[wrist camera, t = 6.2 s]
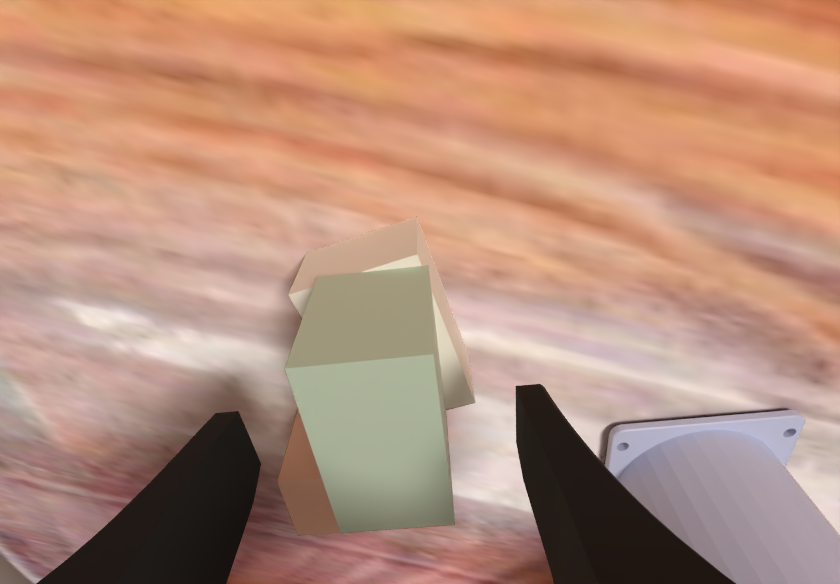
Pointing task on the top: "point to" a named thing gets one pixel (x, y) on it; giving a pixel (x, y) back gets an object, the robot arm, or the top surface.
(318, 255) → the cream brick
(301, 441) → the terracotta brick
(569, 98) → the top surface
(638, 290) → the top surface
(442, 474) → the green brick
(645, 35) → the top surface
